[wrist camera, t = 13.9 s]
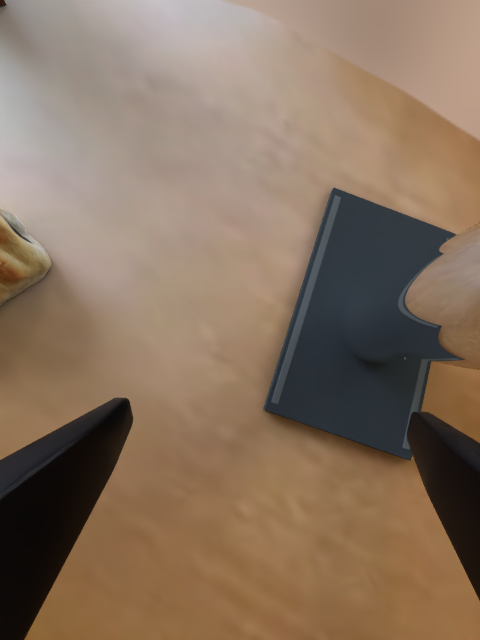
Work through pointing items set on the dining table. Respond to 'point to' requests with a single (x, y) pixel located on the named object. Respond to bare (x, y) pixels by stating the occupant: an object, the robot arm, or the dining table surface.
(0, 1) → the food container
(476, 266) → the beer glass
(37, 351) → the dining table surface
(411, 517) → the dining table surface
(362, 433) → the mat
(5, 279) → the pastry
